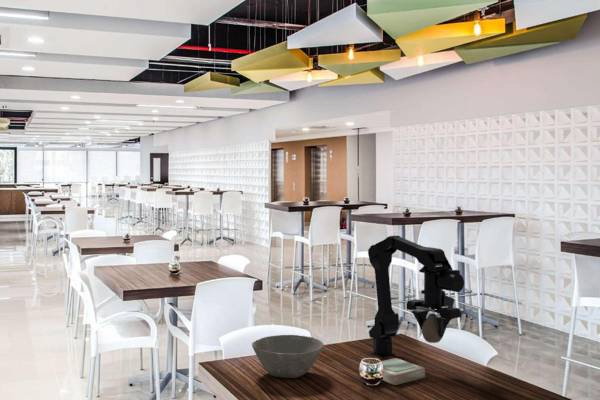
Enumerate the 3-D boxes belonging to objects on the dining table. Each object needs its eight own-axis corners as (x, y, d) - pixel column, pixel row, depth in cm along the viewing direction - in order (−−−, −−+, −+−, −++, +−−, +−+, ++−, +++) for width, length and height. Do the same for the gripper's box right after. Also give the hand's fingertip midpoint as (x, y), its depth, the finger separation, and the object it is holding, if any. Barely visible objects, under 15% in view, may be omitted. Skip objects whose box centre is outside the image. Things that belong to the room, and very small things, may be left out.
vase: (444, 344, 179) (444, 317, 178) (422, 343, 180) (422, 316, 180) (442, 339, 185) (443, 312, 185) (421, 338, 187) (421, 311, 187)
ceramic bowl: (254, 364, 190) (254, 334, 190) (321, 364, 190) (322, 334, 190) (248, 386, 167) (248, 353, 167) (325, 386, 168) (325, 353, 168)
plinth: (366, 373, 180) (366, 363, 180) (395, 366, 187) (395, 357, 187) (395, 385, 169) (395, 374, 169) (425, 377, 176) (425, 367, 176)
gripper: (472, 289, 179) (471, 337, 180) (428, 281, 195) (427, 326, 195) (449, 292, 173) (448, 343, 173) (405, 284, 188) (404, 330, 188)
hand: (432, 335), depth 183 cm, fingers closed on vase, 7 cm apart
